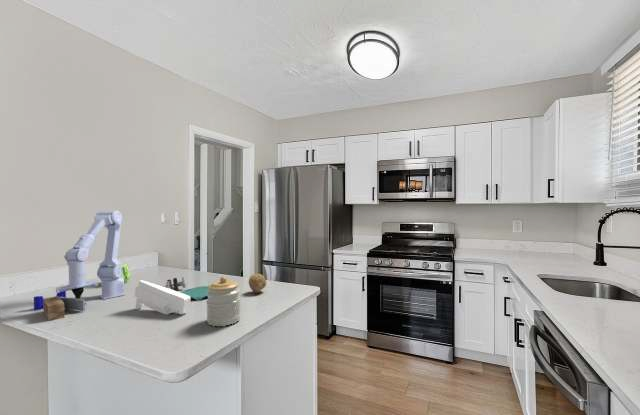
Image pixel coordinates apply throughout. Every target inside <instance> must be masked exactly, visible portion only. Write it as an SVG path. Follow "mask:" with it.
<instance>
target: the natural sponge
mask: <svg viewBox="0 0 640 415" xmlns="http://www.w3.org/2000/svg"><path fill="white" fill-rule="evenodd" d="M248 285H249V288H250V290H251V291H252V292H253V293H255V294H259V293H260V292H261V291H262V290H263V289H265V287H266V286H267V280H266V278H265V276H264V275H262V274H261V273H254V274H252V275H251V276H250V277H249V278H248Z"/></svg>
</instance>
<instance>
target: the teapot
mask: <svg viewBox="0 0 640 415" xmlns="http://www.w3.org/2000/svg"><path fill="white" fill-rule="evenodd" d="M121 264H122V263H121ZM109 266H113V265H109ZM121 277H122V278H123V279H124V284H126V283H128V280H130V279H131V271H130V269H129V267H128V265H127V264H126V263H125V264H122V275H121V276H120V278H121Z"/></svg>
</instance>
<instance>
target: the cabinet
mask: <svg viewBox="0 0 640 415" xmlns="http://www.w3.org/2000/svg"><path fill="white" fill-rule="evenodd" d="M42 310H43V314H44V316H45V317H46V319H47V321H48V322H51V321H55V320H59V319H63V318H65V315H66V314H65V309H64V302H63V301H62V300H61V299H60V298H59V297H58V296H56V295H55V296H51V297H46V298H45V297H43V309H42Z"/></svg>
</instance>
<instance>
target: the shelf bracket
mask: <svg viewBox="0 0 640 415" xmlns="http://www.w3.org/2000/svg"><path fill="white" fill-rule="evenodd" d="M162 286H163V285H158V284H156V283H153V282H149V281H146V280H138V286H136V287H135V291H134V297H135V298H136V300H135V308H134V310H139V309H141V308H142V307H147V308H149V309H152V310H153V311H156V312H158V313H160V314H162V315H169V314H172V313H178V314H179V315H183V314H185V313H187V312H189V311H190V306H191V300H192V299H191V297H190V296H188V295H186V294H183V293H180V292H181V291H176V290H174V289H173V288H172V289H169V288H166V287H162Z"/></svg>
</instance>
